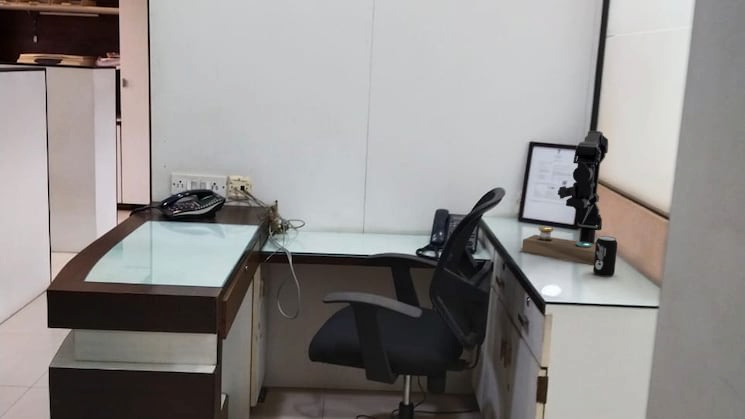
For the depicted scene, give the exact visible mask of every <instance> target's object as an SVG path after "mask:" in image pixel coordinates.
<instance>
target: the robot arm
mask: <svg viewBox="0 0 745 419" xmlns="http://www.w3.org/2000/svg"><path fill="white" fill-rule="evenodd" d="M608 151H609V139H608V138H607V137H606V136H604V133H603V132H602V131H598V130H590V131H587V135H586V136H585V137H584V141H581V142H579V143H578V145H576V146H575V152H574V157H573V164H576V165H577V167H576V168H575V169H574V170H573V172H572V177H573V180H574V181H575V182H574V183H573V186H569V187H567V186H566V185H564V186H559V188H558V190H557V195H558V196H559V200H561V199H562V200H563V199H564V198H567V199H566V201H565V207H573V208H574V209H575V212H576V220H575V221H576V222H575V224H576V225H575V228H576V229H579V239H578V240H577V241H578V242H588V243H591V244H596V234H597V233H596V232H598V231H599V232H600V231H601V230H602V229H603V228H602V226H603V219H602V217H601V214H600V208H599V206H598V204H597V203H598V202H599V201H600V196H599V194H598V186H599V178H600V168H601V164H602V162H603V161H604V160H605V158H606V154H608ZM568 197H569V198H568Z"/></svg>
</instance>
